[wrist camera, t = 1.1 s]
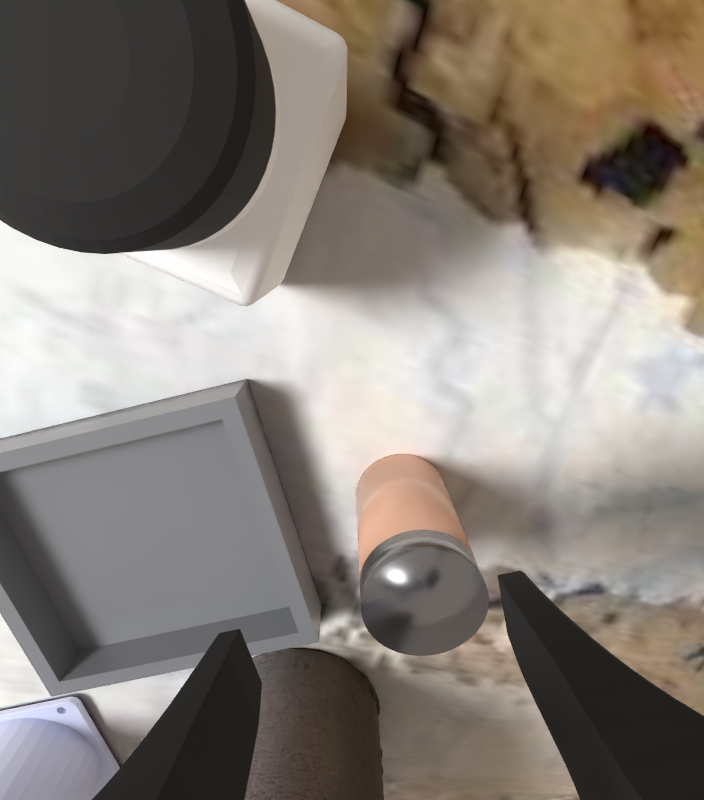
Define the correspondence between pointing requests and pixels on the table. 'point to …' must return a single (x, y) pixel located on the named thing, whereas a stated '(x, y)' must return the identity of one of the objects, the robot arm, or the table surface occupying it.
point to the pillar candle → (315, 730)
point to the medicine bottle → (169, 132)
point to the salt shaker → (415, 560)
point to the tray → (149, 541)
